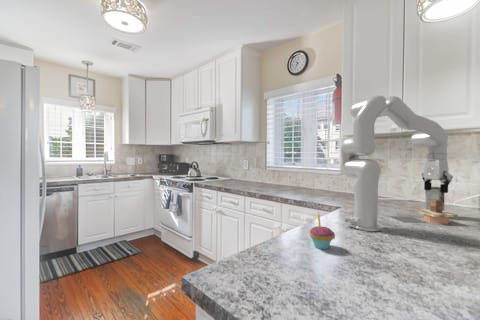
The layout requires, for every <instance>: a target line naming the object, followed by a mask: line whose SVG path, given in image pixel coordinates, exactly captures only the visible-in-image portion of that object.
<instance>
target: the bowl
mask: <svg viewBox="0 0 480 320" xmlns="http://www.w3.org/2000/svg"><path fill="white" fill-rule="evenodd" d="M423 215H424V216H423V221H425V222H428V223H430V224H431V223H432V224H438V225H449V222H450V217H433V216H430V215H427V214H423Z"/></svg>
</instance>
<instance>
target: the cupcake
mask: <svg viewBox="0 0 480 320" xmlns="http://www.w3.org/2000/svg"><path fill="white" fill-rule="evenodd" d="M317 221H318V223H317V225H316V226H314V227H312V228H311V229H310V230H309V237H311V239H312V240H311V241H312V242H313V246H314V247H315V248H316V249H320V250H327V249H328V250H329V247H330V244H331V242H332V241H333V240H334V239H335V238H336V234H335V232H334V231H333V230H332V229H330V228H329V227H327V226H322V224H321V216H320V212H317Z"/></svg>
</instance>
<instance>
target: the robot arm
mask: <svg viewBox="0 0 480 320" xmlns="http://www.w3.org/2000/svg"><path fill="white" fill-rule="evenodd" d="M349 111H350V114H351V116H352V117H353V118H354V121H353V124H352V128H353V129H352V130H353V132H352V136H350V137H347V138H345V139H344V140H343V142H342V143H341V147H340V153H341V167H342V172H343V174H344V175H345V177H348V178H350V179H357V180H356V182H355V185H354V190H353V199H354V201H353V202H354V203H353V215H351V217H349V218H348V217H344V218H343V222H344V223H348V224H350V227H352V228H353V229H356V230H360V231H365V232H380V231H382V225H380V224H379V223H378V222H379V220H378V219H379V218H378V215H379V213H378V211H379V209H378V207H379V181H380V177H381V174H382V173H381V172H382V168H381V165H380V163H379V162H378V161H377V160H375V159H372V158H360V157H364V156H365V157H366V156H371V155H373V154H374V153H375V151H376V135H375V125H376V124H375V123H376V120H377V118H381V117H386V116H387V118H389V119H390V120H392V122H393V123H394V124H395V125H396V126H397V127H398V128H400V129H403V130H408V131H415V133H413V134H412V135H411V137H410V143H411V144H412V145H413V146H415V147H419V148H422V147H423V148H425V147H426V148H427V149H426V150H427V151H426V160H425V162H424V167H423V173H421V176H422V181H423V183H424V185H423V189H424V191H426V190H431V187H432V181H439V182H440V183H441V184H440V186H439V187H440V192H441V193H444V194H448V193H449V185H450V184H451V182H452V180H453V178H454V175H452V174H450V173H449V164H448V163H449V162H448V160H447V159H448V158H447V157H448V138H449V137H448V134H447V131H445V129H444V128H443V127H442V126H441V125H440V124H439V123H438V122H436V121H435V120H433V119H430V118H427V117H425V116H421V115H418V114H417V113H415V111H413V110H412V108H410V107H409V106H408V105H407V104H406V103H405V102H404V101H403V100H402V99H401V98H400V97H399V96H394V95H393V96H392V95H391V96H388V97H385V96H383V95H375V96H372V97H369V98H365V99H361V100H359V101H357V102H355V103H353V104H352V106H351V107H350V110H349Z"/></svg>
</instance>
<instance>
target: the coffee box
mask: <svg viewBox="0 0 480 320" xmlns="http://www.w3.org/2000/svg"><path fill="white" fill-rule="evenodd" d="M431 199H437V200H442V211H445V193H441V192H440V186H431V190H425V209H430V202H431Z"/></svg>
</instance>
